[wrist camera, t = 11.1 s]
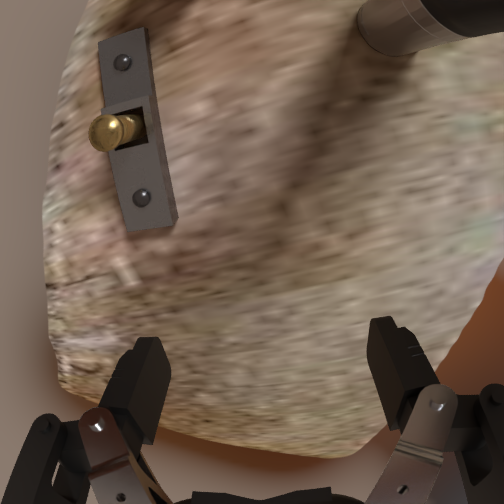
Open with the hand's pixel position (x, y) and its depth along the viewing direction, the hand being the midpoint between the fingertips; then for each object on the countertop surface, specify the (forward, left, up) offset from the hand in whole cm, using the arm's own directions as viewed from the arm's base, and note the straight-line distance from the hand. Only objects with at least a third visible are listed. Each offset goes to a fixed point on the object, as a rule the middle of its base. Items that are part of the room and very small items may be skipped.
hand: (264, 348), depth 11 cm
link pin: (+16, -9, -33) cm, 38 cm away
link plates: (+16, -9, -33) cm, 38 cm away
